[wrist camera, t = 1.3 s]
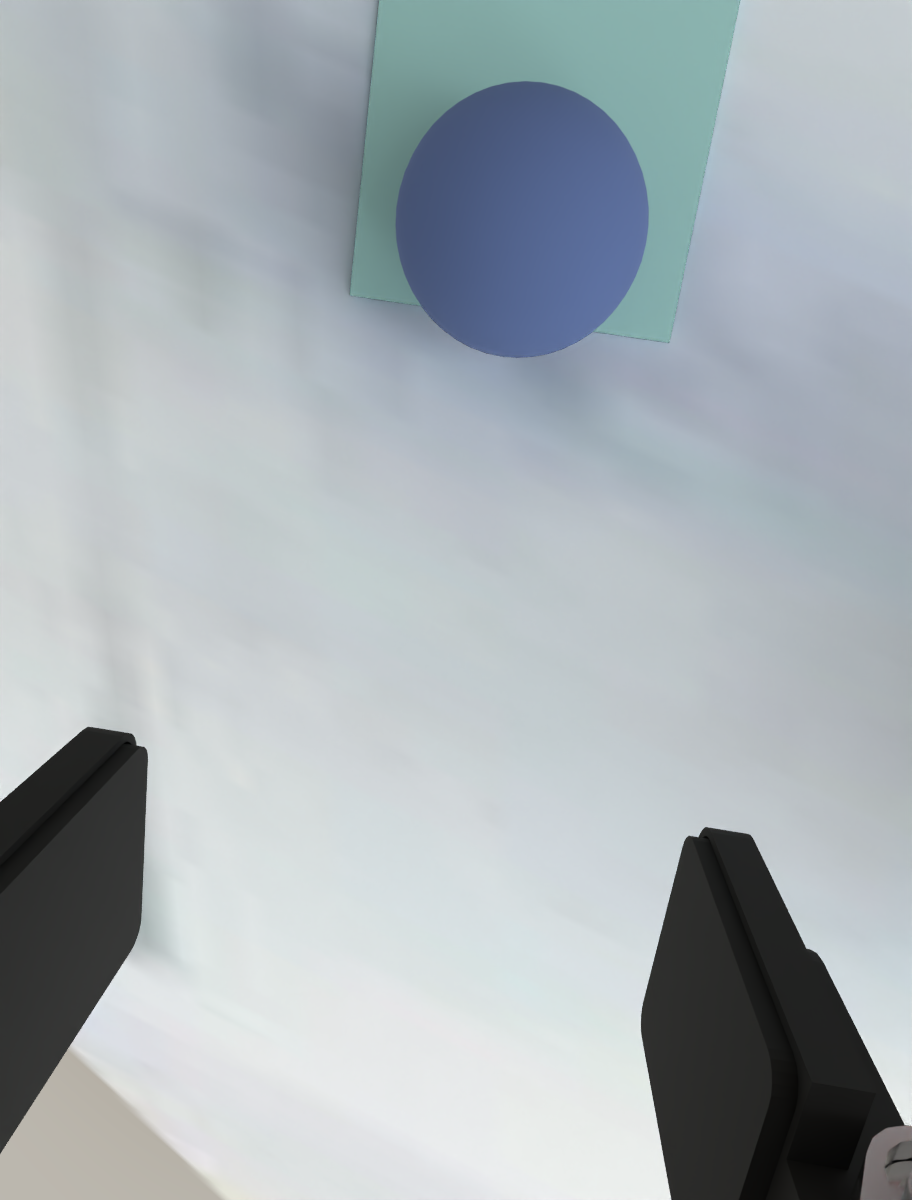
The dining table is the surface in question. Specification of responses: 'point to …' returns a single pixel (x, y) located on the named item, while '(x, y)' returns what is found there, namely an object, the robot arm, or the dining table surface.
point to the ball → (522, 219)
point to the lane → (573, 61)
